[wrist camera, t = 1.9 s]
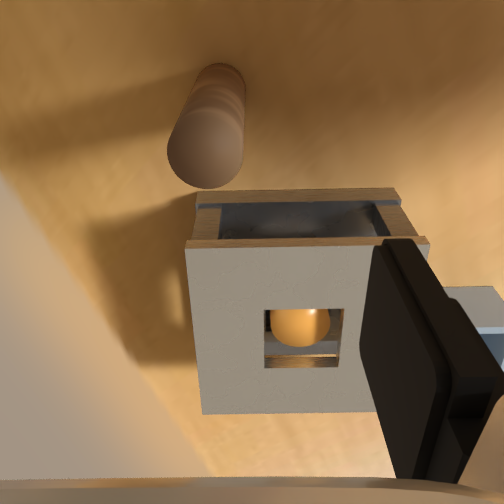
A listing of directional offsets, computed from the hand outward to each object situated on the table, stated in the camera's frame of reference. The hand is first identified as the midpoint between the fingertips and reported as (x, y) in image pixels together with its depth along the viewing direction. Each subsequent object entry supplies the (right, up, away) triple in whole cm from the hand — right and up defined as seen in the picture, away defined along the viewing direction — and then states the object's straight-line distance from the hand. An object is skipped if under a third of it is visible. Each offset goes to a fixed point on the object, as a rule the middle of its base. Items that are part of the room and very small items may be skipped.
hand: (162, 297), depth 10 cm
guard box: (+5, 0, +27) cm, 28 cm away
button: (+5, -3, +23) cm, 24 cm away
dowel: (0, +11, +20) cm, 23 cm away
